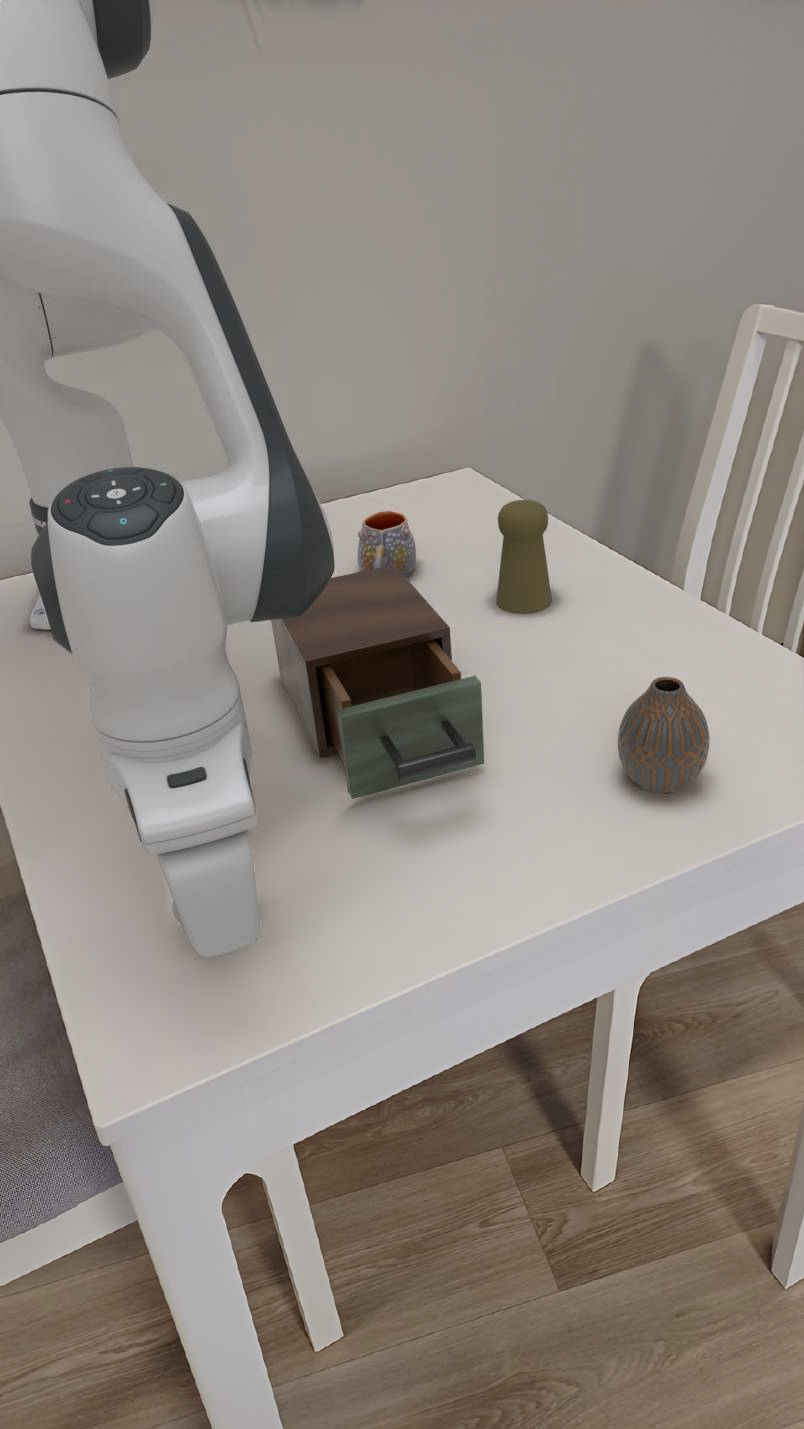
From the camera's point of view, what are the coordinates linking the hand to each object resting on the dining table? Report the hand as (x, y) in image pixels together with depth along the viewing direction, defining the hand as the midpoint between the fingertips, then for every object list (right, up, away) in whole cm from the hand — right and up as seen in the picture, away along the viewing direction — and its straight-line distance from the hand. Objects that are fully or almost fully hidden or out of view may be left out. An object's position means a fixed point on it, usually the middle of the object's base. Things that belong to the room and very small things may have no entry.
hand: (216, 908), depth 68 cm
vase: (+33, +8, +11) cm, 36 cm away
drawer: (+13, +10, +15) cm, 22 cm away
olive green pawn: (+26, +25, +40) cm, 54 cm away
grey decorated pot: (+11, +28, +47) cm, 56 cm away
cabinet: (+9, +15, +25) cm, 30 cm away
